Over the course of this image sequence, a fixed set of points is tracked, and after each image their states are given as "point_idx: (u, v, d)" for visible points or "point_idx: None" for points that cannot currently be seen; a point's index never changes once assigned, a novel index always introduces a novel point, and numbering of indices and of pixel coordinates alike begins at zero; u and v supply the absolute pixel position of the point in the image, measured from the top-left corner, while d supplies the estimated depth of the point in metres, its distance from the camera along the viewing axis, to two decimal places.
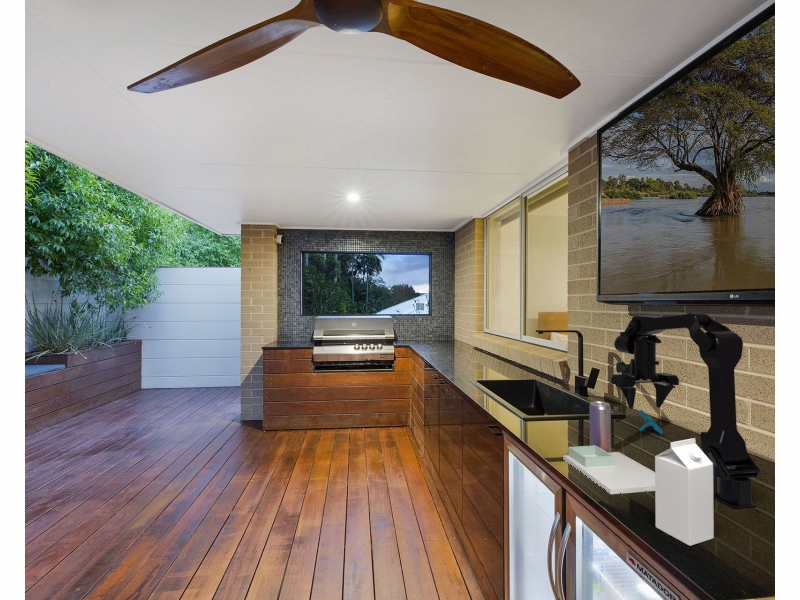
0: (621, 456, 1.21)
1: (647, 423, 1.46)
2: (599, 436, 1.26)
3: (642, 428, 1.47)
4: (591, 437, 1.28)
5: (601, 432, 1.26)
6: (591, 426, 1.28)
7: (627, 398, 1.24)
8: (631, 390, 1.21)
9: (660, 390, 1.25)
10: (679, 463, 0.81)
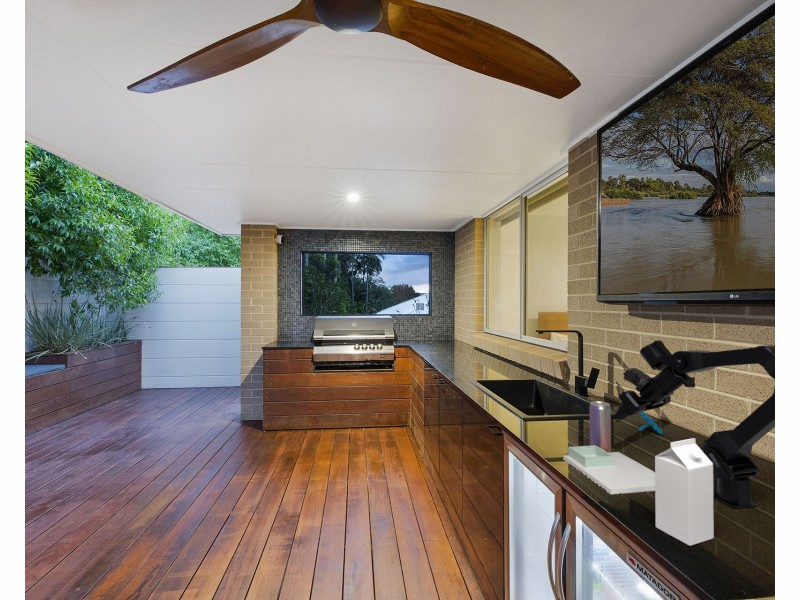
0: (621, 456, 1.21)
1: (646, 423, 1.46)
2: (599, 436, 1.26)
3: (642, 428, 1.47)
4: (591, 437, 1.28)
5: (601, 432, 1.26)
6: (591, 426, 1.28)
7: (621, 411, 1.17)
8: (635, 414, 1.13)
9: None
10: (679, 463, 0.81)
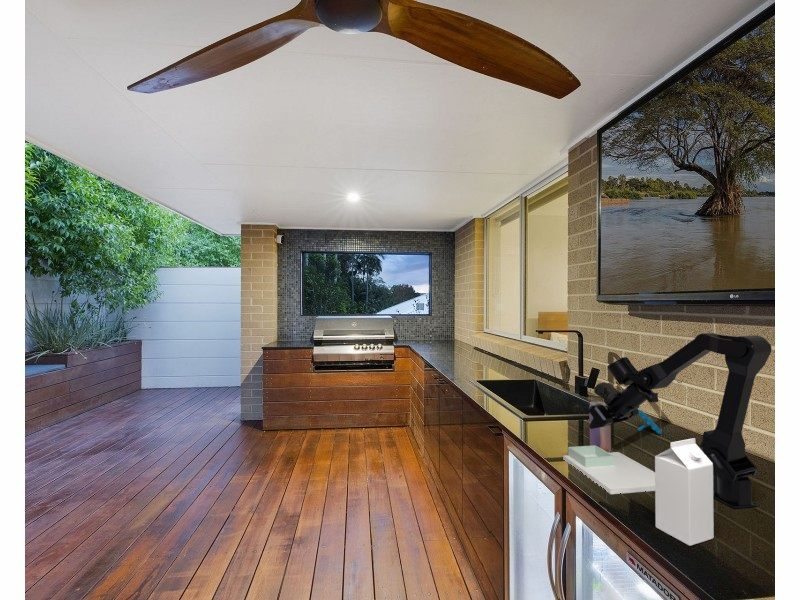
0: (621, 456, 1.21)
1: (645, 423, 1.46)
2: (599, 436, 1.26)
3: (641, 428, 1.47)
4: (591, 437, 1.28)
5: (600, 432, 1.26)
6: None
7: (594, 422, 1.26)
8: None
9: None
10: (679, 463, 0.81)
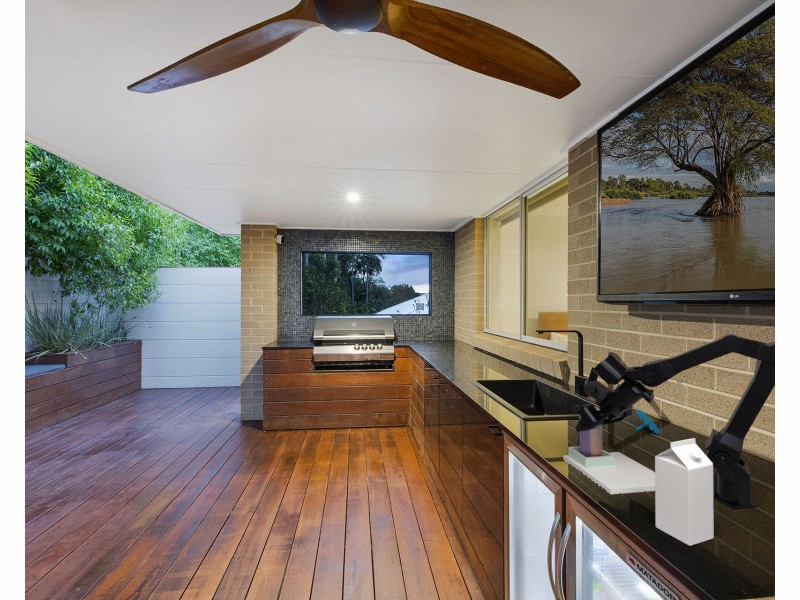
0: (621, 456, 1.21)
1: (644, 422, 1.47)
2: (589, 443, 1.16)
3: (639, 427, 1.48)
4: (581, 445, 1.18)
5: (591, 439, 1.16)
6: (581, 433, 1.18)
7: (581, 425, 1.15)
8: None
9: None
10: (679, 463, 0.81)
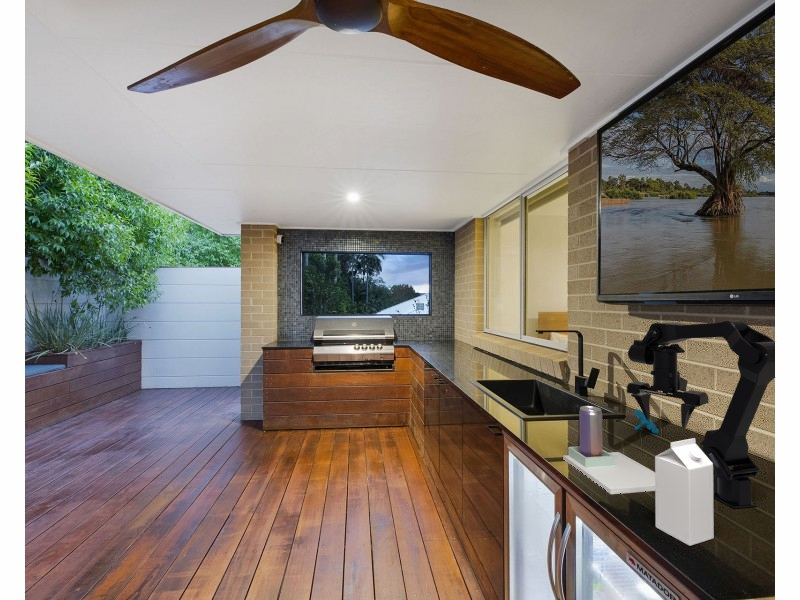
0: (621, 456, 1.21)
1: None
2: (589, 444, 1.16)
3: (637, 427, 1.48)
4: (581, 445, 1.18)
5: (591, 439, 1.16)
6: (581, 433, 1.18)
7: None
8: (635, 397, 1.18)
9: None
10: (679, 463, 0.81)
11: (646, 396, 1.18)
